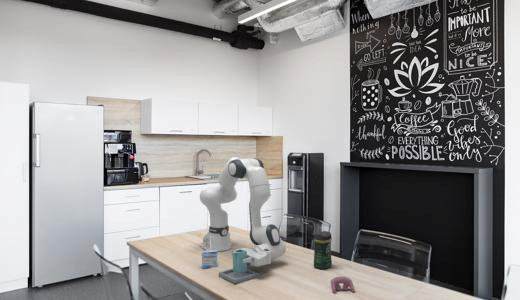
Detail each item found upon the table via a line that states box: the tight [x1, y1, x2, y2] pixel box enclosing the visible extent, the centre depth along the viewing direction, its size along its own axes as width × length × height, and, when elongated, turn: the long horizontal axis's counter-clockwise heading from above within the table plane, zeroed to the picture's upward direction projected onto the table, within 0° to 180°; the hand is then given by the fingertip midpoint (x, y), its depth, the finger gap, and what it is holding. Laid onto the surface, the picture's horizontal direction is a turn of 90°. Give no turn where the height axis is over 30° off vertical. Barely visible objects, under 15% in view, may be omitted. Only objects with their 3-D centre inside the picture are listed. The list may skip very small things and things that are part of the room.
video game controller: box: [330, 275, 355, 294], centre depth 158 cm, size 10×5×7 cm, turn 94°
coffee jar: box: [313, 230, 333, 270], centre depth 189 cm, size 10×8×19 cm
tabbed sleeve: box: [231, 248, 248, 274], centre depth 177 cm, size 5×6×10 cm
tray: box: [218, 268, 259, 285], centre depth 177 cm, size 14×14×2 cm
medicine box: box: [201, 250, 218, 270], centre depth 192 cm, size 8×4×9 cm, turn 105°
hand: (238, 259), depth 177 cm, fingers closed on tabbed sleeve, 5 cm apart
